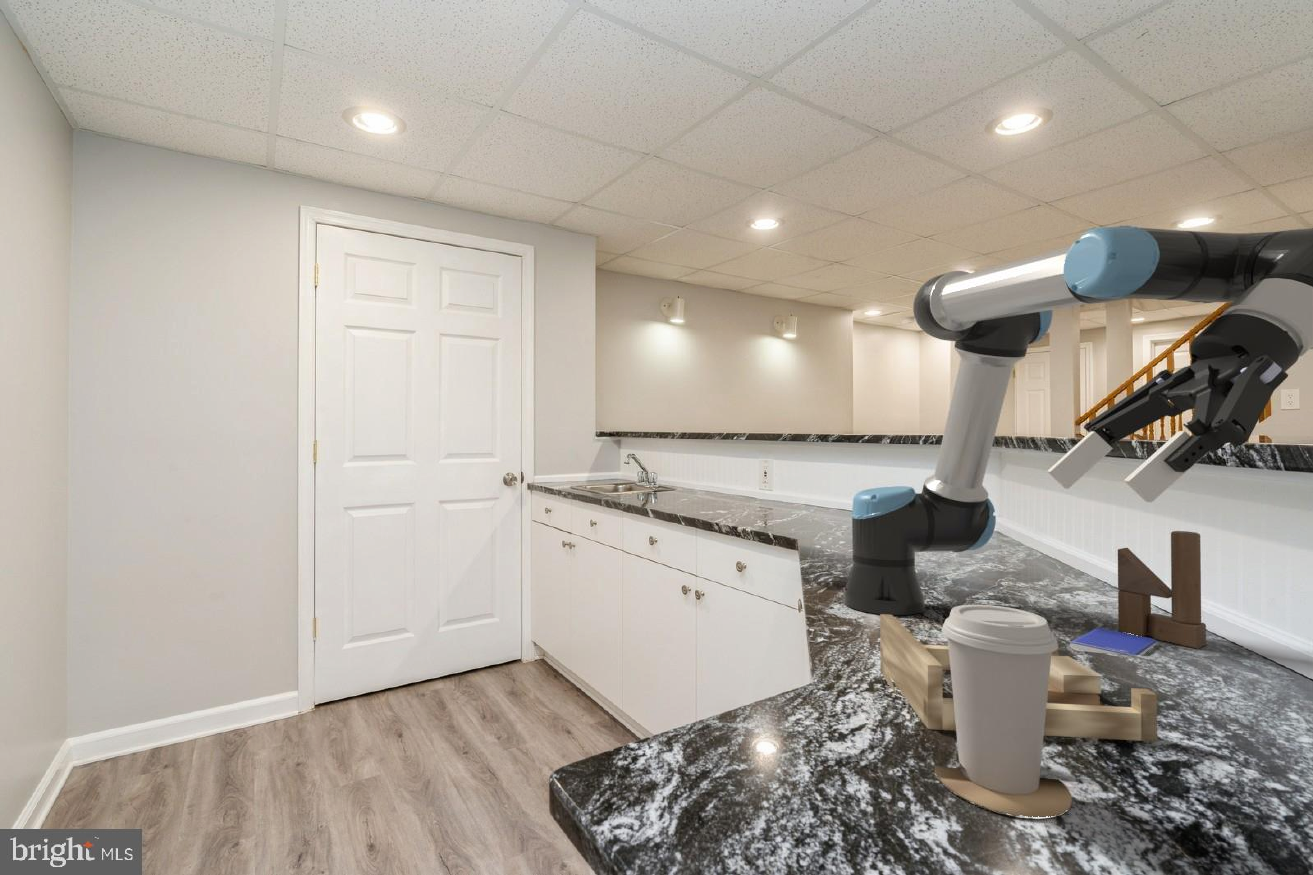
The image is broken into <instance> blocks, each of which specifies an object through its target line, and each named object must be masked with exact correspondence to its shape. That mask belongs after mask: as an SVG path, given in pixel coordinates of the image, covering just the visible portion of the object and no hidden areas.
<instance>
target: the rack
mask: <svg viewBox="0 0 1313 875" xmlns="http://www.w3.org/2000/svg"><path fill="white" fill-rule="evenodd" d="M879 615H880V618H879V620H880V623H879V626H880V627H879V629H880V631H879V632H880V635H879V636H880V638H879V639H880V640H879V642H880V646H879V647H880V653H879V654H880V663H879V665H880V670H879V671H880V672H879V673H880V674H881V675H882V677H884V678H883V679H885V681H886V682H887V683H888V685H889V687H890V688H891V689H892V691H893V692H894V694H895V695H896V697H897V698H899V695H898V693H897V691H896V688H895V686H894V684H895V685H896V687H897V688H898V690H899V691H900V692H901V694H902V695H903V697H904V698H905V699H906V701H907V702H908V703H909V705H910V706H911V707H912V709H913V710H914V712H915V713H916V714H917V716H918V717H919V719H920V720H921V722H922V723H923V724H924V726H925V727H926V728H927V729H928V730H937V731H938V730H941V731H942V730H943V731H956V722H955V711H954V700H953V697H952V698H951V697H944V696H943V691H944V690H943V687H944V686H943V671H944V670H946V671H951V668H950V658H949V648H948V645H938V644H937V645H935V644H922V643H921V642H919V641H918V640H917V638H915V636H914V635H912V633H911V632H910V631H908V630H907V628H905V627H904V625H903V624H901V623H900V622H899V620H897V619H896V617H894V615H887V614H879ZM1055 638H1056V640H1057V643H1058V649H1057V650H1056V651H1053V652H1052V656H1060V654H1059V650H1060V649H1059V647H1060V646H1059V642H1060V641H1059V638H1058V637H1057V636H1055ZM1130 698H1131V699H1130V700H1131V701H1130V703H1131V704H1130V706H1109V705H1100V706H1095V705H1075V704H1055V703H1047V705H1046V715H1045V726H1044V736H1050V737H1053V736H1054V737H1066V738H1067V737H1070V738H1083V739H1084V738H1087V739H1088V738H1089V739H1103V740H1104V739H1105V740H1125V741H1137V742H1139V741H1140V742H1141V741H1142V742H1143V741H1144V742H1155V743H1156V742H1158V710H1157V709H1158V708H1157V707H1158V705H1157V704H1158V696H1157V694H1156V693H1154V692H1153V691H1152V690H1149V689H1148V688H1138V687H1137V688H1133V687H1132V688H1130Z"/></svg>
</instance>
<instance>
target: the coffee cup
mask: <svg viewBox="0 0 1313 875" xmlns="http://www.w3.org/2000/svg"><path fill="white" fill-rule="evenodd" d="M941 633H942V634H943V635H944V636H945V637H946V639H947V646H948V648H949V658H950V668H951V670H950V675H951V687H952V688H951V689H952V698H953V700H954V711H955V722H956V730H955V731H956V740H957V741H956V742H957V754H958V761H959V763H960V765H961V766H962V767H963V768H960V770H961V772H962V773H963V775H964V776H965V777H967V778H968V779H969V780H971V781H972V782H974V783H976V784H978V785H980V786H982V787H984V788H987V789H990V790H993V791H996V792H1000V793H1005V794H1013V795H1025V794H1030V793H1033V792H1035V791H1036V790H1037V789H1038V787H1039V780H1040V777H1041V770H1042V769H1041V768H1042V767H1041V766H1042V756H1043V746H1044V736H1045V735H1044V726H1045V715H1046V705H1047V695H1048V684H1049V674H1050V665H1051V656H1052V652H1053V651H1056V650H1057V649H1058V643H1057V640H1056V638H1055V637H1056V636H1055V634H1054V632H1053V631H1052V630H1051V629H1050V627H1049V622H1048V621H1047V619H1046V618H1044V617H1043V616H1041V615H1038V614H1037V613H1033V612H1030V611H1026V610H1023V609H1017V608H1013V607H1006V606H999V605H989V604H964V605H963V604H961V605H957V606H953V607H952V608H951V610H950V612H949V616H948V617H947V618H945V620H944V623H943V624H942V628H941Z"/></svg>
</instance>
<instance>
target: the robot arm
mask: <svg viewBox="0 0 1313 875" xmlns="http://www.w3.org/2000/svg"><path fill="white" fill-rule="evenodd" d="M913 300H914V302H913V305H912V306H913V307H912V308H913V309H912V311H913V315H914V319H915V321H916V323H917V325H918V327H919V328H920V329H921V330H922V331H923V332H924V333H926V334H927V335H928V336H931V337H932V338H934V339H937V340H942V341H948V342H954V348H953V349H954V350H955V352H956V353H957V354H958V355H959V357H960V362H959V365H958V370H957V375H956V378H955V383H954V388H953V392H952V396H951V401H950V404H949V410H948V412H947V413H948V415H947V419H946V423H945V427H944V431H943V437H942V440H941V444H940V450H939V452H938V453H939V454H938V457H937V461H936V466H935V472H934V474H932V475H930V476H928V477H927V478H925V479H924V482H923V486H922V490H921V493H920V492H919V493H918V492H916V491H915V489H914V488H913V487H912V486H903V485H901V486H900V485H899V486H897V485H896V486H884V487H883V486H882V487H874V488H867V489H863V490H861V491H858V492H857V493H856V494H855V495H854V497H853V500H852V509H851V510H852V511H851V514H850V515H851V520H852V524H851V525H852V536H851V537H852V538H851V539H852V540H851V541H852V565H851V569H850V571H849V573H848V578H847V582H846V586H845V587H844V589H843V604H844V605H845V606H847V607H849V608H851V609H854V610H857V611H860V612H866V613H869V614H875V615H876V614H878V615H880V614H887V615H892V616H909V615H918V614H921V613H923V612H924V611H926V602H925V601H926V599H925V595H924V593H923V591H922V587H921V585H920V581H919V577H918V575H917V572H916V553H928V552H929V553H930V552H932V553H933V552H934V553H935V552H952V553H963V552H966V551H976V550H978V549H981V548H982V547H984V546H985V545H987V543H988V542H989V541H990V539H991V537H993V534H994V532H995V528H996V523H997V516H996V515H994V513H995V512H996V510H995V507H994V504H993V502H992V501H991V500H990V498H989V492H988V491H987V489H986V488H985V487H984V485H983V482H984V478H985V474H986V471H987V467H988V464H989V458H990V456H991V452H992V448H993V445H994V440H995V436H996V432H997V429H998V424H999V422H1000V417H1001V413H1002V408H1003V404H1004V403H1005V397H1006V394H1007V391H1008V385H1009V382H1010V377H1011V374H1012V370H1013V367H1014V365H1016V363H1018V362H1019V361H1021V360H1023V359H1025V358H1026V355H1027V352H1028V351H1027V350H1028V347H1029V345H1032V344H1035V343H1037V342H1039V341H1040V340H1041V339H1042V338H1043V337H1044V336H1045V335H1047V333H1048V331H1049V329H1050V328H1051V325H1052V321H1053V310H1059V309H1060V310H1061V309H1065V308H1066V309H1067V308H1071V307H1078V306H1084V305H1086V306H1087V305H1090V304H1100V303H1108V302H1115V301H1122V300H1158V301H1159V300H1160V301H1161V300H1162V301H1164V300H1165V301H1185V302H1190V303H1203V304H1211V303H1227V304H1230V305H1228V307H1226V308H1225V309H1224V311H1222V313H1221V315H1220V316H1218V317H1216V318H1215V319H1214V320H1213V321H1212V322H1210V323H1209V325H1208V326H1206V327H1205V328H1204V329H1203V330H1202V331H1201V332H1200V333H1199V334H1198V335H1197V336H1195V338H1193V339H1192V341H1190V342H1191V343H1190V344H1189V345H1190V346H1189V352H1190V355H1191V363H1190V365H1187V366H1184V367H1182V368H1180V369H1178V370H1177V371H1174V373H1172V372H1171V371H1169V370H1168V369H1164V370H1161V371H1159V372H1158V373H1157V374H1156V375H1155V376H1153V377H1152V378H1151V379H1150V380H1149V381H1147V383H1145V384H1143V385H1142V386H1141V387H1139V388H1137V389H1136V390H1135V391H1133V392H1132V393H1130V394H1129V395H1127V396H1125V397H1124V398H1122V399H1121V400H1120V401H1118V402H1117V403H1115V404H1113V405H1112V406H1111V407H1109V408H1108V409H1106V410H1104V411H1103V412H1101V413H1100V414H1099V415H1097V416H1095V417H1094V418H1093V419H1091V420H1090V421H1088V422H1087V423H1085V424H1084V426H1083V428H1084V430H1086V432H1088V433H1087V434H1086V435H1085V436H1084V437H1083V438H1082V439H1081V440H1079V441H1078V442H1077V443H1076V444H1075V445H1074V446H1073V447H1072V448H1071V449H1070V450H1069V451H1067V453H1065V454H1064V455H1063V456H1062V457H1061V458H1060V459H1059V460H1057V462H1056V463H1054V464H1053V465H1052V466H1051V467H1050V468H1048V470H1047V471H1046V472H1047V473H1048V474H1049V475H1050V476H1051V477H1052V478H1054V480H1055V481H1057V483H1058V484H1060V485H1061V486H1062V487H1063V488H1064V489H1066V490H1067V489H1070V488H1071V487H1072V486H1073V485H1074V484H1075V483H1077V481H1079V480H1080V479H1081V478H1082V477H1083V476H1084V475H1085V474H1086V473H1088V472H1089V471H1090V470H1091V469H1092V468H1093V467H1094V466H1096V465H1097V464H1098V462H1100V461H1101V460H1102V459H1103V458H1105V456H1107V455H1108V454H1109V452H1110V453H1111V452H1114V451H1115V445H1114V444H1115V443H1117V442H1119V441H1121V440H1123V439H1125V438H1126V437H1128V436H1131V435H1132V434H1135V433H1136V432H1138V431H1140V430H1142V429H1144V428H1146V427H1148V426H1150V425H1151V424H1153V423H1155V422H1157V421H1159V420H1160V419H1163V418H1164V417H1170V418H1174V417H1178V416H1179V415H1180V414H1182V413H1184V412H1186V411H1189V410H1193V412H1192V416H1191V420H1190V421H1188V422H1186V423H1183V424H1182V425H1183V426H1184V428H1186V429H1187V430H1188V432H1190V433H1192V434H1191V435H1190V434H1189V433H1188V432H1187V431H1186V430H1178V431H1177V432H1176V433H1175V434H1173V435H1172V437H1171V438H1170V439H1168V440H1167V441H1166V442H1165V443H1163V445H1162V446H1160V448H1158V449H1157V450H1156V451H1154V453H1152V454H1151V455H1150V456H1149V457H1148V458H1147V459H1146V460H1145V461H1143V463H1142V464H1140V465H1139V466H1137V468H1136V469H1135V470H1134V471H1132V472H1131V473H1130V474H1129V475H1128V476H1126V478H1125V479H1124V480H1123V481H1124V482H1125V483H1126V484H1127V485H1128V486H1129V488H1131V489H1132V491H1134V492H1135V493H1136V494H1137V495H1138V496H1139V497H1140V498H1141V499H1143V500H1144V502H1146V503H1152V502H1154V501H1155V500H1156V499H1158V497H1160V496H1161V495H1162V494H1163V493H1164V492H1165V491H1166V490H1167V489H1169V488H1170V486H1172V485H1173V484H1175V482H1177V481H1178V480H1179V479H1180V478H1181V477H1182V476H1184V474H1186V473H1187V472H1188V471H1189V470H1190V469H1191V468H1192V467H1193V466H1195V465H1196V464H1197V463H1198V462H1199V461H1200V460H1201V459H1203V458H1204V457H1205V456H1206V455H1207V454H1208V453H1209V452H1210V451H1211V452H1216V451H1218V450H1220V449H1222V448H1224V446H1225V445H1226V444H1231V446H1233V447H1240V446H1243V445H1244V444H1245V443H1247V441H1249V439H1250V438H1251V435H1252V434H1253V431H1254V429H1255V428H1256V426H1257V424H1258V422H1259V420H1260V418H1261V416H1262V414H1263V412H1264V410H1265V408H1266V407H1267V404H1268V403H1269V401H1270V399H1271V397H1272V395H1273V393H1274V392H1275V390H1277V389H1278V388H1279V387H1280V386H1281V384H1282V383H1283V382H1284V381H1285V380H1286V379H1287V378H1288V377H1289V374H1288V373H1287V371H1288V370H1289V369H1290V368H1291V367H1293V366H1294V365H1295V364H1296V363H1297V362H1298V360H1299V358H1301V357H1303V356H1304V355H1305V354H1306V353H1307V352H1308V351H1310V350H1313V227H1311V228H1299V229H1295V228H1294V229H1286V230H1281V231H1280V230H1279V231H1266V232H1265V231H1264V232H1263V231H1262V232H1248V233H1246V232H1245V233H1244V232H1243V233H1242V232H1241V233H1236V232H1235V233H1234V232H1233V233H1232V232H1214V231H1195V230H1193V231H1192V230H1177V229H1163V228H1149V227H1138V226H1132V225H1126V224H1125V225H1119V226H1103V227H1095V228H1092V229H1090V230H1088V231H1086V232H1084V233H1082V235H1081V237H1080V238H1079V239H1077V240H1075V241H1074V242H1073V243H1072V244H1071V245H1069V246H1066V247H1063V248H1058V249H1054V250H1051V251H1047V252H1043V253H1040V254H1036V255H1033V256H1028V257H1025V258H1022V259H1018V260H1014V261H1011V262H1007V263H1004V264H999V265H997V266H995V265H994V266H991V267H988V268H984V269H981V270H976V271H974V272H968V271H966V270H954V271H950V272H946V273H943V274H939V275H936V276H934V277H932V278H930V279H928V280H927V281H926V282H925V283H923V285H921V287H920V288H919V290H918V291H917V292H916V294H915V296H914V299H913Z"/></svg>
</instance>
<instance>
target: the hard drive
mask: <svg viewBox="0 0 1313 875" xmlns="http://www.w3.org/2000/svg"><path fill="white" fill-rule="evenodd" d="M1155 645H1156V646H1157V640H1156V639H1155V638H1152V637H1151V638H1150V637H1145V636H1143V637H1141V636H1136V635H1131V634H1127V633H1122V632H1120V631H1115V630H1110V629H1104V628H1099V627H1096V628H1095V629H1093V630H1090V631H1089V632H1088V633H1085V634H1083V635H1081V636H1079V637H1077V638H1076V639H1073V640H1072V641H1070V642H1069V648H1070V647H1071V648H1070V649H1075V650H1079V651H1083V650H1085V651H1084V652H1087V653H1088V652H1089V653H1099V654H1101V653H1102V654H1112V655H1113V654H1114V655H1125V656H1126V655H1127V656H1140V657H1141V656H1144V655H1145V654H1147V653H1148V652H1149V651H1151V650H1152V649H1153V648H1154V647H1153V646H1155ZM1156 646H1155V647H1156ZM1152 647H1153V648H1152ZM1151 648H1152V649H1151ZM1150 649H1151V650H1150ZM1148 650H1149V651H1148ZM1147 651H1148V652H1147ZM1146 652H1147V653H1146Z"/></svg>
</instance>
